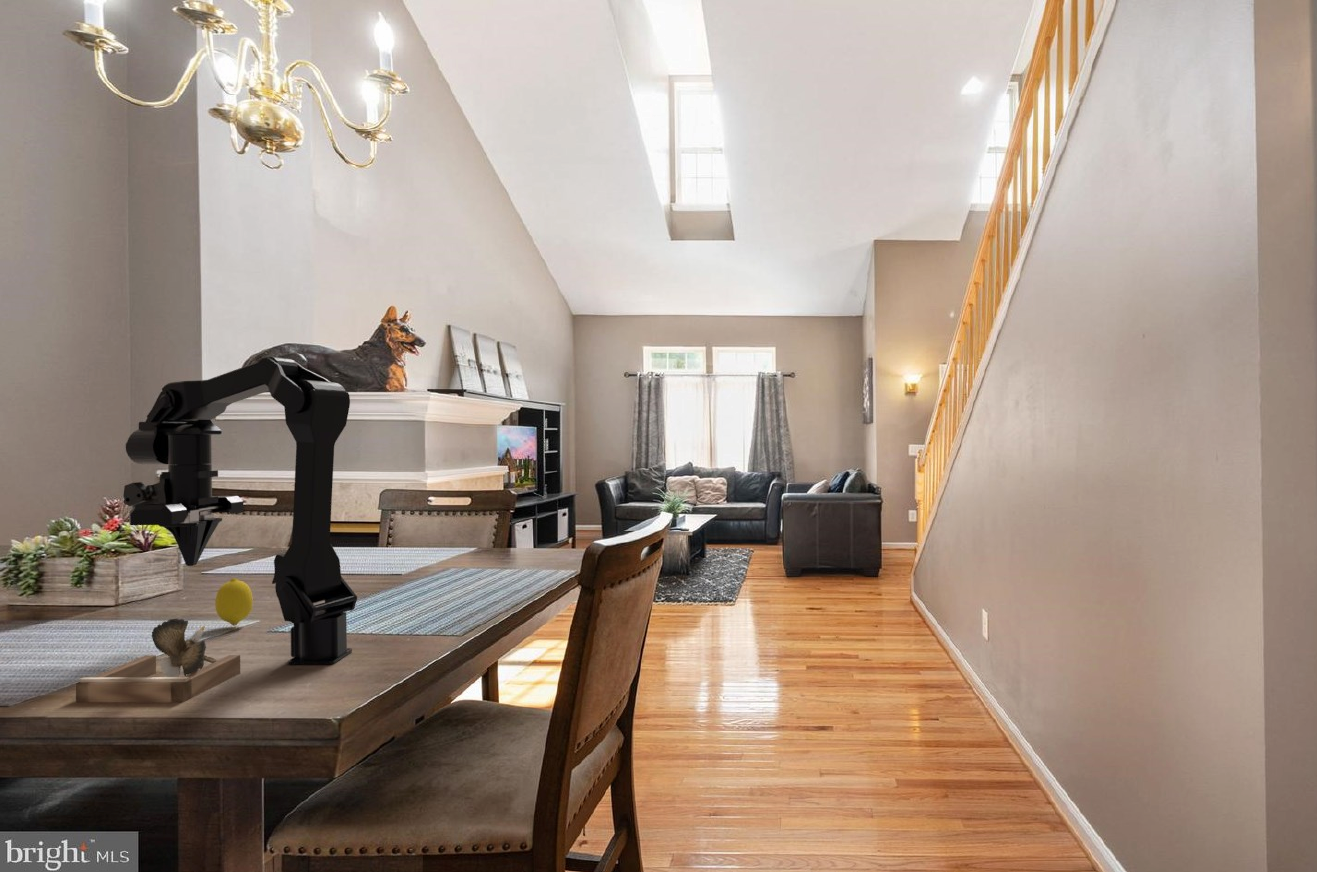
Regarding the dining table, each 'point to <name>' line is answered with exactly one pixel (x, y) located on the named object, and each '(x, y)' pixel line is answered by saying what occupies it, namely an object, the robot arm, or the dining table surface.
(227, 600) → the lemon
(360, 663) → the dining table surface
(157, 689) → the wooden tray
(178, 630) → the eagle figurine
